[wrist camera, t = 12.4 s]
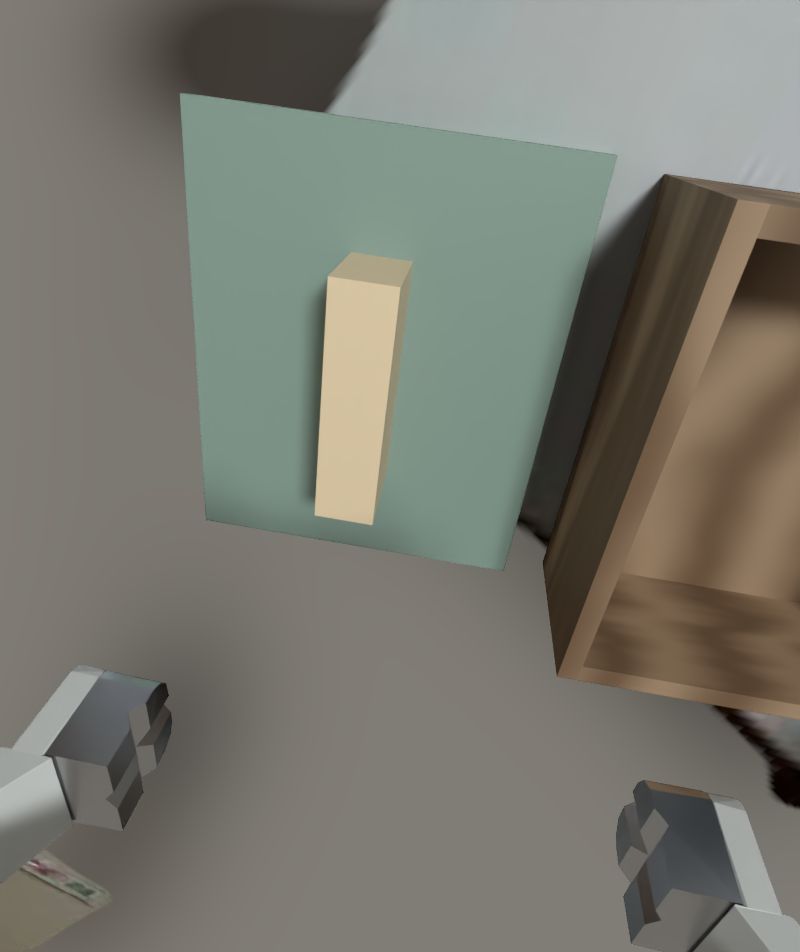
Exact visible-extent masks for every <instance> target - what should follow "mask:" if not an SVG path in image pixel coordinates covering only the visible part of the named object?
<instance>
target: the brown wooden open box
mask: <svg viewBox="0 0 800 952" xmlns="http://www.w3.org/2000/svg"><path fill="white" fill-rule="evenodd" d="M543 569H544V576H545V585H546V593H547V600H548V609H549V616H550V625H551V633H552V641H553V649H554V657H555V665H556V673H557V677H562V678H567V679H574V680H578V681H584V682H590V683H595V684H601V685H607V686H612V687H618V688H623V689H629V690H635V691H640V692H646V693H651V694H657V695H662V696H668V697H674V698H679V699H685V700H690V701H696V702H702V703H707V704H713V705H718V706H724V707H730V708H735V709H741V710H746V711H752V712H758V713H763V714H769V715H774V716H780V717H786V718H791V719H797V720H800V193H795V192H788V191H781V190H773V189H766V188H759V187H752V186H745V185H738V184H731V183H724V182H717V181H710V180H703V179H696V178H689V177H682V176H675V175H668V174H665V175H664V178H663V181H662V185H661V188H660V191H659V194H658V197H657V200H656V204H655V207H654V210H653V213H652V216H651V220H650V223H649V226H648V229H647V232H646V235H645V239H644V242H643V245H642V248H641V251H640V255H639V258H638V261H637V264H636V267H635V270H634V274H633V277H632V280H631V283H630V286H629V290H628V293H627V296H626V299H625V302H624V305H623V309H622V312H621V315H620V318H619V321H618V325H617V328H616V331H615V334H614V337H613V340H612V344H611V347H610V350H609V353H608V356H607V360H606V363H605V366H604V369H603V372H602V375H601V379H600V382H599V385H598V388H597V391H596V395H595V398H594V401H593V404H592V407H591V410H590V414H589V417H588V420H587V423H586V426H585V430H584V433H583V436H582V439H581V442H580V445H579V449H578V452H577V455H576V458H575V461H574V465H573V468H572V471H571V474H570V477H569V480H568V484H567V487H566V490H565V493H564V496H563V500H562V503H561V506H560V509H559V512H558V515H557V519H556V522H555V525H554V528H553V531H552V535H551V538H550V541H549V544H548V547H547V550H546V554H545V557H544V560H543Z"/></svg>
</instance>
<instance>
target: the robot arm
mask: <svg viewBox="0 0 800 952" xmlns="http://www.w3.org/2000/svg"><path fill="white" fill-rule="evenodd" d="M168 696H169V695H168V690H167V685H166V683H162V682H158V681H153V680H148V679H144V678H139V677H134V676H130V675H125V674H120V673H116V672H111V671H109V670H103V669H99V668H94V667H89V666H84V665H79V666H78V667H76V668H75V669H74V670H72V671H71V672H70V673H69V674H68V675H67V677H66V678H65V679H64V681H63V682H62V683H61V684H60V686H59V687H58V688H57V689H56V691H55V692H54V693H53V695H52V696H51V698H50V699H49V700H48V701H47V703H46V704H45V705H44V706H43V708H42V709H41V710H40V711H39V713H38V714H37V715H36V717H35V718H34V719H33V720H32V722H31V723H30V724H29V726H28V727H27V728H26V729H25V731H24V732H23V733H22V735H21V736H20V737H19V739H18V740H17V741H16V743H15V744H14V745H13V746H12V748H7V747H1V748H0V884H1V883H3V882H4V881H5V880H6V879H8V878H9V877H10V876H11V875H12V874H14V873H15V872H16V871H17V870H19V869H20V868H21V867H22V866H24V865H25V864H26V863H27V862H28V861H30V860H31V859H32V858H33V857H35V856H36V855H37V854H38V853H39V852H41V851H42V850H43V849H44V848H46V847H47V846H48V845H49V844H50V843H52V842H53V841H54V840H55V839H57V838H58V837H59V836H60V835H61V834H63V833H64V832H65V831H67V830H68V829H69V828H70V827H71V826H73V822H78V823H83V824H88V825H94V826H99V827H104V828H109V829H115V830H120V831H123V830H124V828H125V826H126V824H127V823H128V821H129V819H130V817H131V815H132V813H133V811H134V809H135V808H136V806H137V804H138V802H139V800H140V798H141V796H142V794H143V793H144V791H143V784H142V777H143V776H144V775H146V774H148V773H149V772H150V771H152V770H153V769H155V768H156V767H157V766H158V764H159V762H160V760H161V758H162V756H163V754H164V752H165V749H166V746H167V743H168V740H169V737H170V734H171V726H172V717H171V712H170V711H169V710H168V709H167V708H166V706H164V703H165V701H166V699H167V698H168ZM633 793H634V798H635V802H634V803H631V804H629V805H626V806H624V808H623V810H622V812H621V814H620V816H619V819H618V826H617V832H616V847H617V856H618V863H619V867H620V868H621V870H622V871H623V872H624V874H625V875H626V877H627V878H628V880H629V881H630V882H631V884H630V885H629V887H628V889H627V891H626V892H625V894H624V896H623V897H624V903H625V909H626V916H627V922H628V928H629V934H630V941H631V944H634V945H638V946H643V947H646V948H650V949H654V950H658V951H662V952H800V926H799V924H798V923H797V922H796V921H795V919H794V918H793V917H791V916H788V915H784V914H782V912H781V910H780V907H779V904H778V901H777V898H776V896H775V893H774V890H773V887H772V884H771V881H770V878H769V875H768V873H767V870H766V867H765V864H764V861H763V858H762V855H761V853H760V850H759V847H758V844H757V841H756V838H755V835H754V833H753V830H752V827H751V824H750V821H749V818H748V816H747V813H746V810H745V807H744V806H743V805H742V804H741V802H740V801H739V800H737V799H735V798H732V797H726V796H721V795H715V794H710V793H705V792H703V791H699V790H694V789H689V788H684V787H678V786H673V785H667V784H662V783H657V782H651V781H646V780H643V781H641V782H638V784H637V785H636V787H635V789H634V790H633Z"/></svg>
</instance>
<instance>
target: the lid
mask: <svg viewBox="0 0 800 952" xmlns="http://www.w3.org/2000/svg"><path fill="white" fill-rule="evenodd" d="M180 103H181V119H182V134H183V151H184V167H185V184H186V201H187V217H188V234H189V248H190V249H189V250H190V266H191V283H192V299H193V315H194V332H195V346H196V347H195V348H196V364H197V380H198V397H199V413H200V429H201V445H202V462H203V479H204V494H205V511H206V520H210V521H216V522H222V523H227V524H233V525H239V526H245V527H251V528H256V529H262V530H268V531H274V532H280V533H285V534H291V535H297V536H303V537H309V538H314V539H320V540H326V541H332V542H338V543H344V544H349V545H356V546H361V547H367V548H373V549H379V550H385V551H390V552H396V553H402V554H407V555H413V556H419V557H425V558H431V559H436V560H442V561H449V562H454V563H460V564H466V565H471V566H477V567H483V568H489V569H495V570H500V571H504V568H505V564H506V561H507V557H508V553H509V549H510V546H511V542H512V538H513V535H514V531H515V528H516V524H517V521H518V517H519V513H520V510H521V506H522V502H523V499H524V495H525V491H526V488H527V484H528V480H529V477H530V473H531V469H532V466H533V462H534V459H535V455H536V451H537V448H538V444H539V440H540V437H541V433H542V429H543V426H544V422H545V418H546V415H547V411H548V407H549V404H550V400H551V396H552V393H553V389H554V386H555V382H556V378H557V375H558V371H559V367H560V364H561V360H562V356H563V353H564V349H565V345H566V342H567V338H568V334H569V331H570V327H571V323H572V320H573V316H574V313H575V309H576V305H577V302H578V298H579V294H580V291H581V287H582V283H583V280H584V276H585V272H586V269H587V265H588V261H589V258H590V254H591V250H592V247H593V243H594V240H595V236H596V232H597V229H598V225H599V221H600V218H601V214H602V210H603V207H604V203H605V199H606V196H607V192H608V188H609V185H610V181H611V178H612V174H613V170H614V167H615V163H616V159H617V155H614V154H608V153H600V152H593V151H586V150H579V149H572V148H565V147H558V146H551V145H544V144H537V143H530V142H523V141H516V140H509V139H502V138H495V137H488V136H481V135H474V134H467V133H460V132H453V131H446V130H439V129H432V128H425V127H418V126H411V125H404V124H397V123H390V122H383V121H376V120H369V119H362V118H355V117H348V116H341V115H334V114H327V113H323V112H316V111H309V110H302V109H295V108H287V107H281V106H274V105H267V104H260V103H253V102H246V101H238V100H231V99H224V98H217V97H210V96H203V95H196V94H184V93H183V94H182V93H180Z"/></svg>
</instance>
